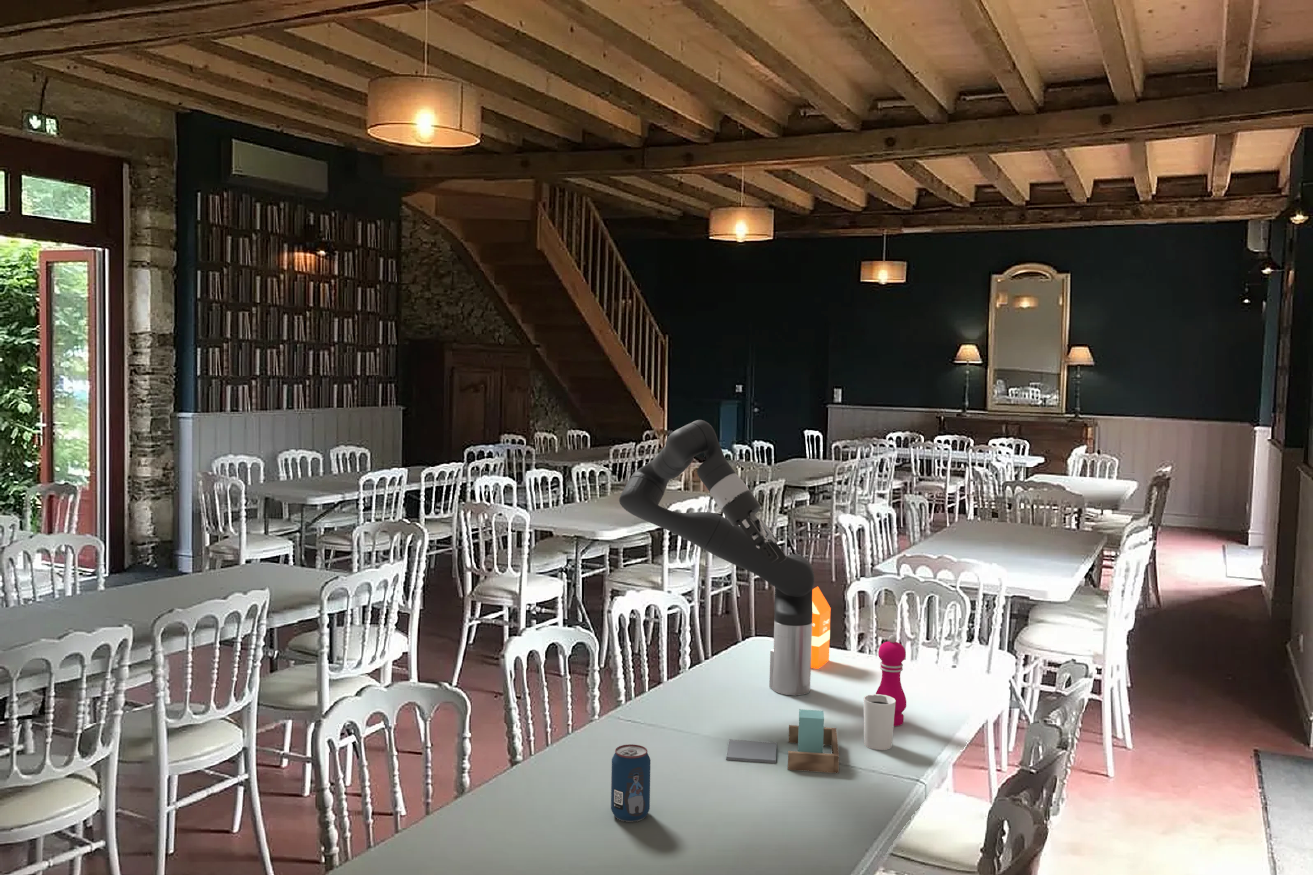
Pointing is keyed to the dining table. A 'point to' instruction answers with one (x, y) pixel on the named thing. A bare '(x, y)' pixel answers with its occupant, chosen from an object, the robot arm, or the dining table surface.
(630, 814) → the soda can
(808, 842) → the dining table surface
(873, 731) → the white paper cup
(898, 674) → the pepper mill
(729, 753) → the slate mat
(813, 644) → the orange juice
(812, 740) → the teal block
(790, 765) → the walnut cubby
